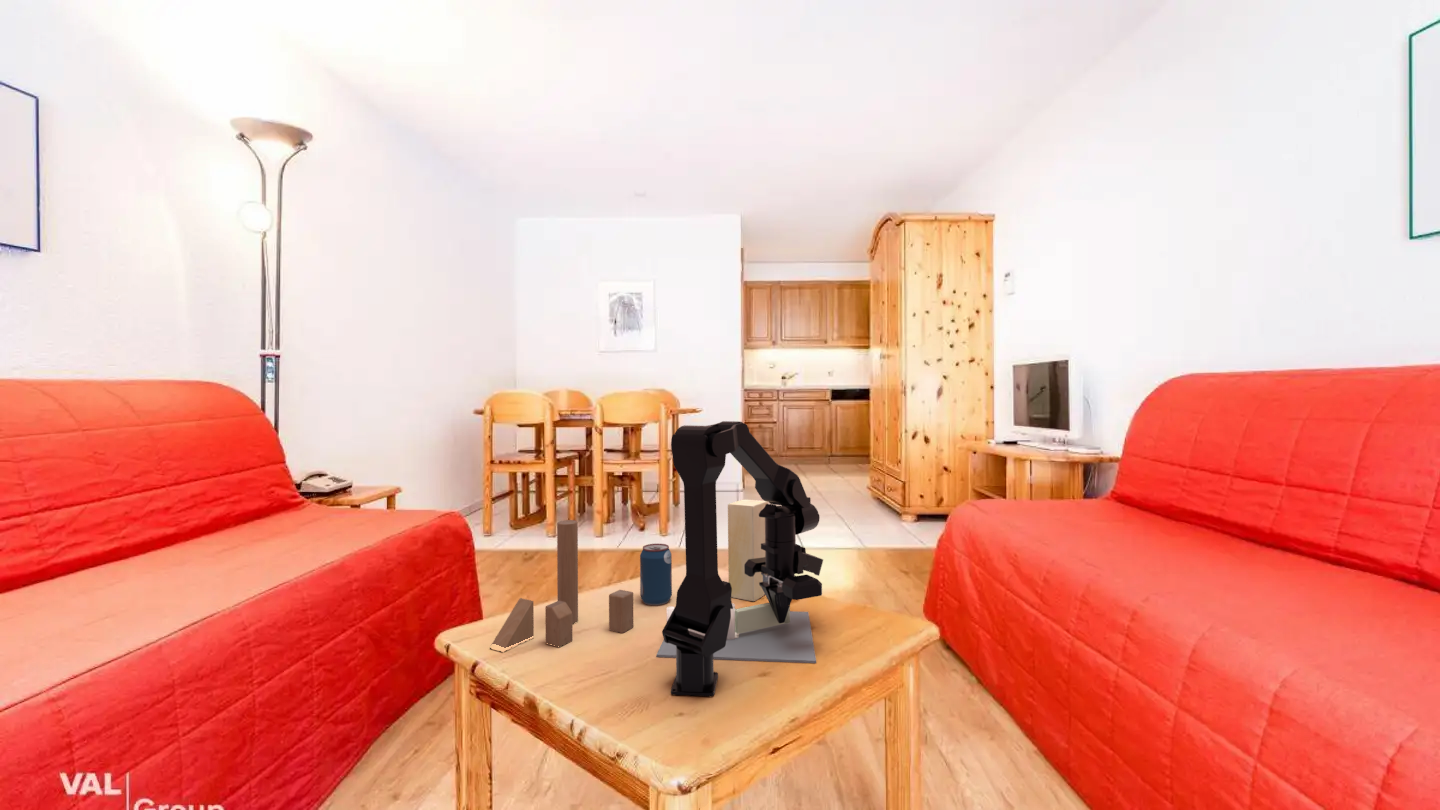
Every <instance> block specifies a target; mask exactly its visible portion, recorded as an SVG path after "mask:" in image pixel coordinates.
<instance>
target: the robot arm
mask: <svg viewBox="0 0 1440 810" xmlns="http://www.w3.org/2000/svg"><path fill="white" fill-rule="evenodd" d="M749 429H750V428H749V426H748V424H747V423H745V422H743V421H738V420H737V421H734V420H733V421H730V420H729V421H727V420H725V421H724V420H723V421H720V422H718V423H714V424H709V425H686V424H685V425H680V427H678V429H676V431H675V432H674V433H673V434H672V435H671V442H670V449H671V455H672V460H673V467H674V468H675V470H676V472H677V474H678V475H679V477H680V479H681V481H682V483H683V497H684V498H683V500H684V501H683V502H684V504H683V505H684V536H685V538H684V541H685V546H684V547H685V576H684V578H683V580H682V582H681V583H680V585H679V587H678V589H677V591H676V599H675V600H676V601H675V606H674V607H675V608H674V610H673V612H672V614H671V616H670V617H669V619H668V621H667V620H666V623H665V625H664V627H663V628H662V630H661V634H662V637H663V640H664V641H665V643H670V644H673V645H676V658H675V664H676V665H675V666H676V667H675V671H676V673H675V674H676V675H675V677H674V680H673V682H672V686H671V688H670V695H676V696H679V695H680V696H696V697H697V696H699V697H700V696H701V697H714V695H715V692H716V689H717V685H718V684H717V682H718V679H719V672H716V671H714V659H713V653H715V652H717V651H719V650H721V649H722V648H724V647H725V645H726V640H727V635H728V630H729V625H730V619H731V609H733V606H732V603H733V602H732V597H731V593H732V587H731V584H730V583H729V581H725V580H722V578H721V577H720V574H719V565H718V564H719V563H718V557H719V555H718V528H717V527H718V521H717V487H716V486H717V480H718V479H719V477H720V475H721V473H722V471H724V470H723V469H724V468H725V465H726V458H727V455H728V454H731V456H732V457H733V458H734V459H735V460H736V461H737V462H738V463H739V464H740V465H741V466H742V467H743V468H744V470H745V471H746V472H747V473H748V474H749V475H750V476H751V477H752V478H753V480H754V482H755V483H754V489H755V490H756V492H757V493H758V495H759V496H760V498H761V500H762V501H767V502H768V504H766V505H765V507H764V508H763V509H762V510H761V511H760V513H759V517H764V518H765V543H761V549H763V550H765V557H763V558H755V559H748V561H747V562H746V563H745V564H744V569H745V574H746V575H748V576H750V577H753V576H754V574H755V573H756V572H762V573H761V575H763V582H760V583H759V585H760V586H761V587H762V589H763V591H764V593H765V595H764V596H765V597H766V599H767V601H768V603H770V605H771V608H772V610H773V612H774V614H775V616H776V619H777V621H778V623H784V622H785V619H786V616H787V613H788V609H789V606H790V607H791V603H792V601H793V600H794V601H795V600H797V601H798V600H804V599H805V600H806V599H808V598H815V597H820V596H822V595H823V583H822V582H821V580H819V579H818V578H816V577H814V576H812V575H809V574H804V571H805V572H808V573H811V574H812V573H813V574H814V575H815V576H820V573H821V571H822V570H821V569H822V566H823V563H824V559H823V558H821V557H817V556H815V555H812V554H811V553H808V552H807V550H806V548H805V547H804V546H801V545H800V544H797V542H796V537H797V536H796V535H799V534H802V533H806V532H809V531H812V530H814V529H815V528H817V527H818V525H819V524H820V523H819V522H820V514H819V511H818V509H817V507H816V506H815V505H814V504H812V503H811V501H812V500H811V499H812V498H811V496H810V497H808V495H807V494H806V491H805V489H804V486H803V484H802V481H801V478H800V477H799V476H798V474H796V472H794V471H793V470H791V469H790V468H788V467H785V466H783V465H780V464H778V463H777V462H776V461H775V460H774V459H773V457H772V456H771V455H770V454H769V453H768V452H767V450H765V448H764V447H763V446H762V445H761V444H760V442H759V441H758V440H757V439H756V438H755V436H754V435H753V434H752V433H751V432H750V430H749ZM688 629H691V630H695V631H698V632H701V633H704V634H705V636H703V635H700V634H697V633H694V632H691V631H688Z"/></svg>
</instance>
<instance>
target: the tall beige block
mask: <svg viewBox="0 0 1440 810" xmlns="http://www.w3.org/2000/svg"><path fill="white" fill-rule="evenodd" d="M766 504H769V502H767V501H764V500H760V499H759V500H756V499H740V500H735V501H734V502H731V503H728V504H727V551H728V553H727V554H728V555H727V557H728V560H727V561H728V582H729V583H730V584H731V587H732V593H731V598H734V599H739V600H744V601H748V602H749V601H750V602H756V601H758V600H759V599H760V598H762V597H764V596H766V595H765V593H764V591H763V589H762V587H761V586H760V585H759V583H760V582H763V575H761V573H762V572H756V573H755V574H754V576H753V577H750V576H748V575H746V574H745V569H744V564H745V563H746V562H747V561H748V559H755V558H763V557H765V550H763V549H761V543H765V518H764V517H759V513H760V511H761V510H762V509H763V508H764V507H765V505H766Z"/></svg>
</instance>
